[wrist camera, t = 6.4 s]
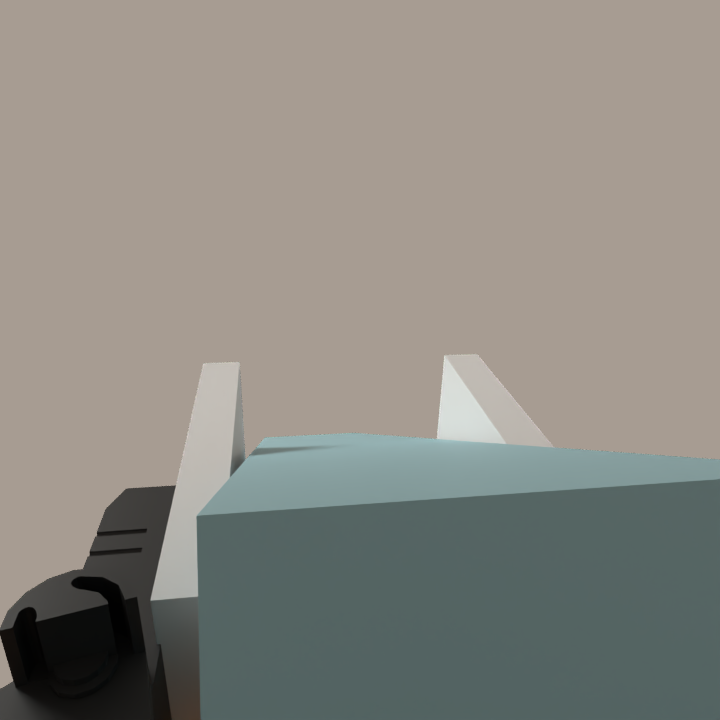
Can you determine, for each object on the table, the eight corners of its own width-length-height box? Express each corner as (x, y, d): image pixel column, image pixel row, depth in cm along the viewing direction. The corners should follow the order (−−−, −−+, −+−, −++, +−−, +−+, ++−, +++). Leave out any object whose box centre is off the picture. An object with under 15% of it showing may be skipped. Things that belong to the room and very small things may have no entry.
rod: (956, 1200, 3) (857, 469, 4) (215, 1410, 3) (196, 515, 3) (357, 522, 27) (353, 432, 27) (267, 528, 26) (265, 437, 27)
